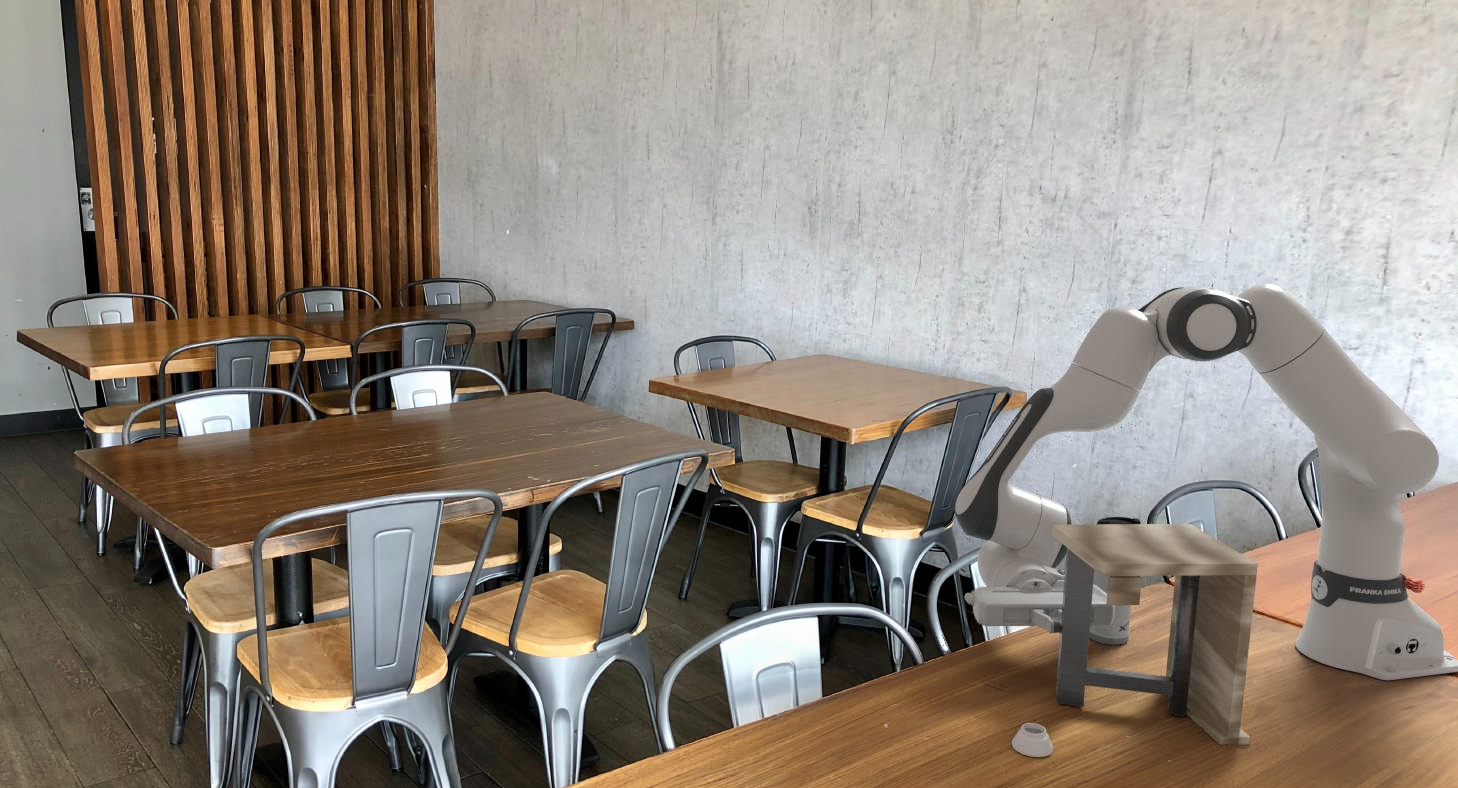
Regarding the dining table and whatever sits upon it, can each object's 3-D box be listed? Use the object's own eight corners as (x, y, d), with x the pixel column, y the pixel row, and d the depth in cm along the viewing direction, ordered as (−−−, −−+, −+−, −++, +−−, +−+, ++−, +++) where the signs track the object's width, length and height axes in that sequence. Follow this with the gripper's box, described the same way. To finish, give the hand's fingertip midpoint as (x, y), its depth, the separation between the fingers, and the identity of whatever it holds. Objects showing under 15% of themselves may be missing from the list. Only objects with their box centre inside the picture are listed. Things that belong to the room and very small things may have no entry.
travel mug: (1133, 647, 169) (1144, 525, 166) (1089, 643, 170) (1099, 522, 167) (1127, 632, 175) (1137, 514, 172) (1085, 628, 176) (1094, 511, 173)
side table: (1184, 686, 155) (1200, 524, 151) (1249, 744, 139) (1269, 563, 134) (1040, 688, 154) (1052, 524, 150) (1089, 748, 137) (1104, 564, 133)
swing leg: (1184, 707, 148) (1199, 552, 144) (1188, 719, 145) (1204, 560, 141) (1055, 692, 152) (1067, 540, 148) (1057, 703, 149) (1068, 548, 145)
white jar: (1003, 747, 137) (1035, 763, 133) (1005, 725, 137) (1037, 741, 133) (1028, 736, 140) (1060, 752, 136) (1030, 715, 140) (1062, 731, 136)
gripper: (962, 572, 163) (989, 607, 149) (1094, 572, 164) (1132, 606, 150) (960, 612, 164) (986, 649, 150) (1090, 611, 165) (1128, 649, 151)
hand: (1060, 628), depth 150 cm, fingers closed, pressing on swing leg
